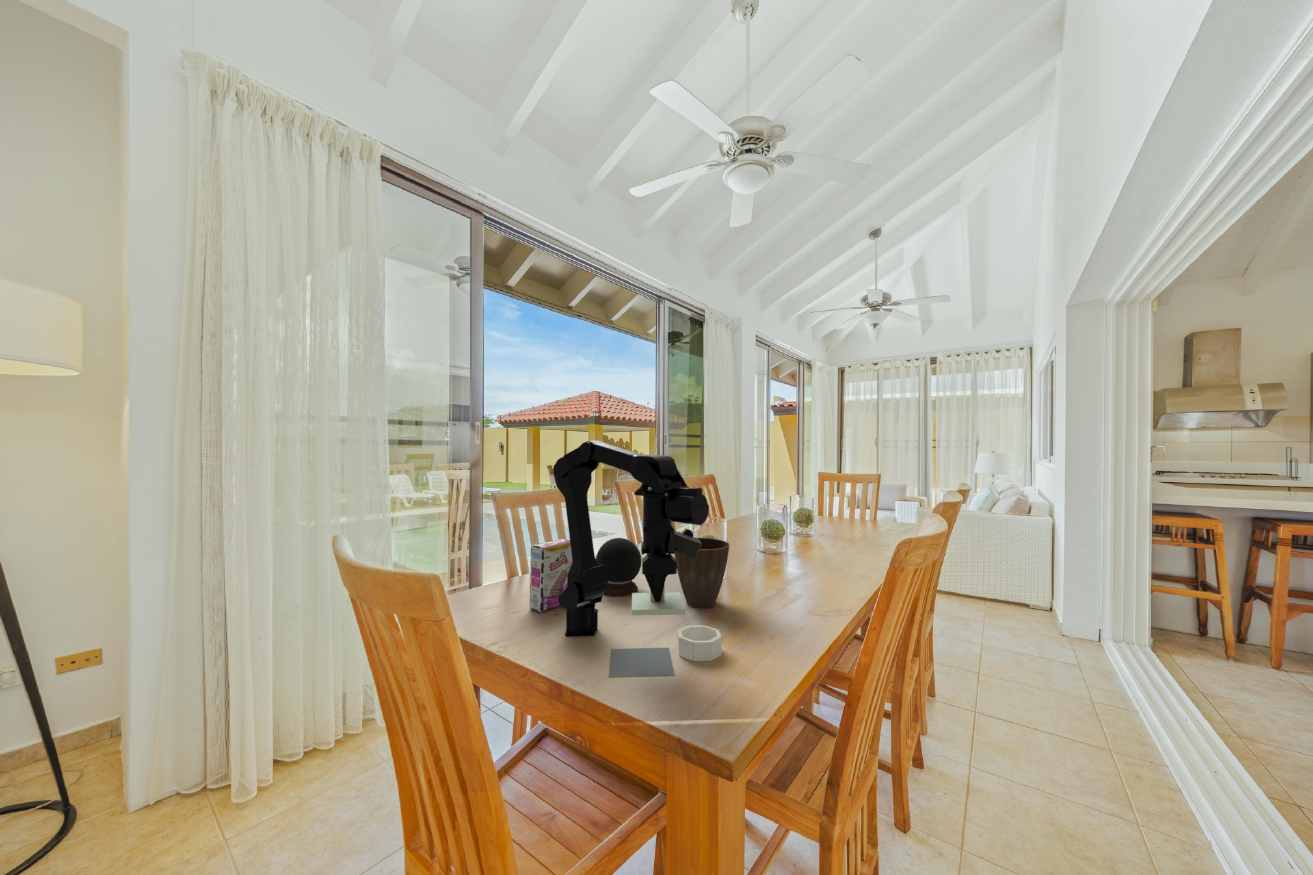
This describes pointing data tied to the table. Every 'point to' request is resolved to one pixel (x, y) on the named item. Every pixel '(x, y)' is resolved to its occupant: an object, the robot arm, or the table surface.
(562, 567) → the candy bar box
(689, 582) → the plant pot
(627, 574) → the black ball on stand
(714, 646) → the bowl
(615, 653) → the mat
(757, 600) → the table surface
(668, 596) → the lid
